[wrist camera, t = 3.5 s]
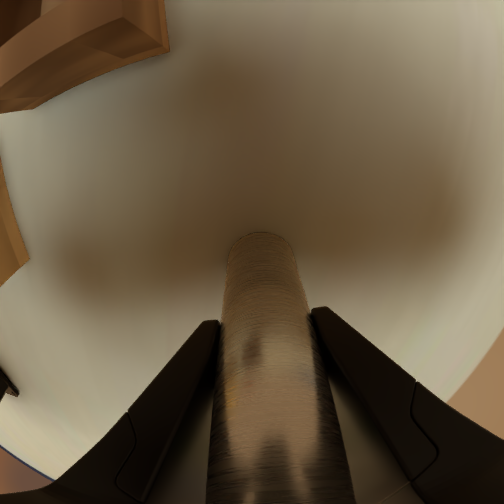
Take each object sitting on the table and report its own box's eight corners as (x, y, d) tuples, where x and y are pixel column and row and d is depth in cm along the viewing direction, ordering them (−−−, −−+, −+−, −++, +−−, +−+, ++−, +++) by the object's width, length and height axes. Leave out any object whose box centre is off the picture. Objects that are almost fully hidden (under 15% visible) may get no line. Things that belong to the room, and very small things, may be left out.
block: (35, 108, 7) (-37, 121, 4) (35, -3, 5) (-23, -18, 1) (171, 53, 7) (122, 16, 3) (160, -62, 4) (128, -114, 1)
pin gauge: (233, 292, 11) (222, 548, 3) (222, 236, 10) (179, 544, 2) (295, 285, 11) (348, 537, 3) (291, 227, 10) (378, 529, 2)
